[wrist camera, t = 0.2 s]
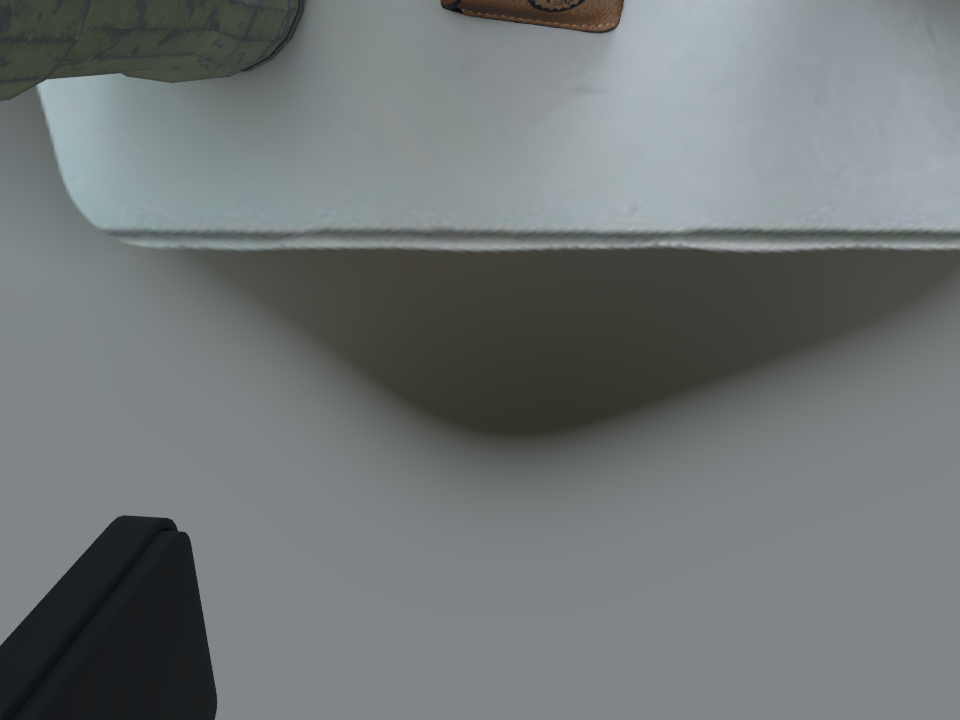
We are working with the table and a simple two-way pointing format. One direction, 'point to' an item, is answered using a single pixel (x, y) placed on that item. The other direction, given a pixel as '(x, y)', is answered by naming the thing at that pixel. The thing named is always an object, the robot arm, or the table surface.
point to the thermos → (139, 38)
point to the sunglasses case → (545, 12)
